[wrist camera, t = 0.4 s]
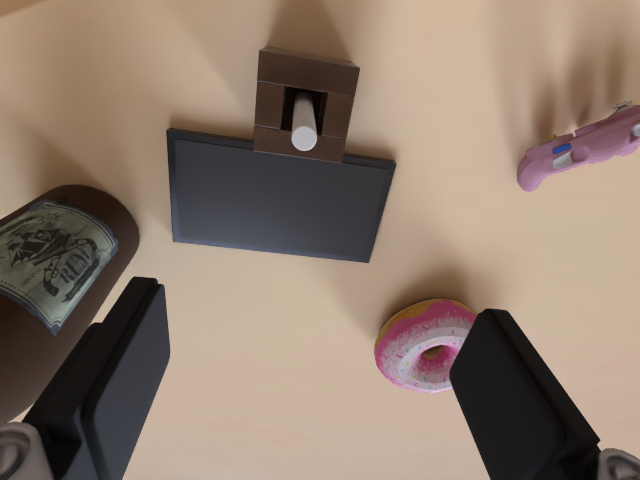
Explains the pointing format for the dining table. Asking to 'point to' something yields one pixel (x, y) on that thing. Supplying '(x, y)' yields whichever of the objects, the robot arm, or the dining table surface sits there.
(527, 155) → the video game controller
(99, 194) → the rum bottle
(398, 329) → the donut
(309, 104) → the stylus
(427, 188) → the dining table surface
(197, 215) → the tablet
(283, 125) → the pen holder
